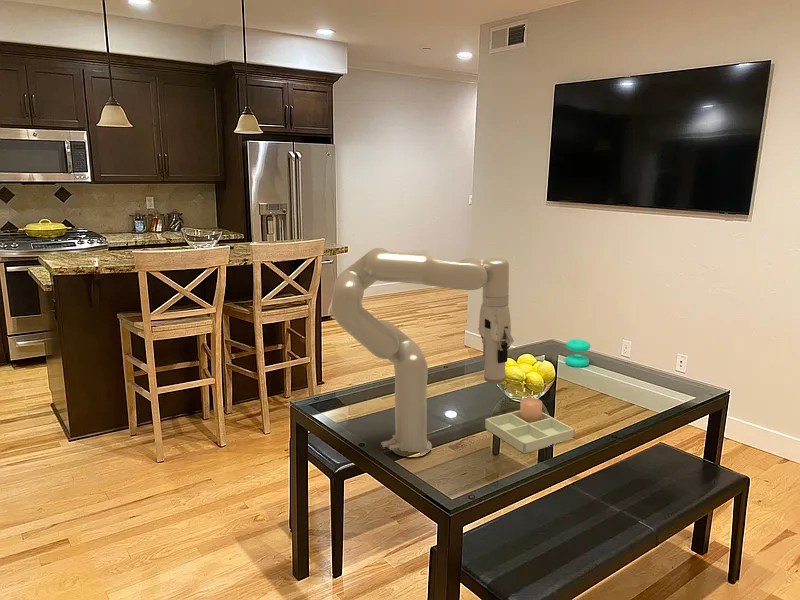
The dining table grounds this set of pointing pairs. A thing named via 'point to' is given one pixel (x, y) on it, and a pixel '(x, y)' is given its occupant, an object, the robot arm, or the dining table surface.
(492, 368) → the travel mug
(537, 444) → the carrier
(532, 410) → the peach rounded capsule
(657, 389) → the dining table surface
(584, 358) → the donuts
